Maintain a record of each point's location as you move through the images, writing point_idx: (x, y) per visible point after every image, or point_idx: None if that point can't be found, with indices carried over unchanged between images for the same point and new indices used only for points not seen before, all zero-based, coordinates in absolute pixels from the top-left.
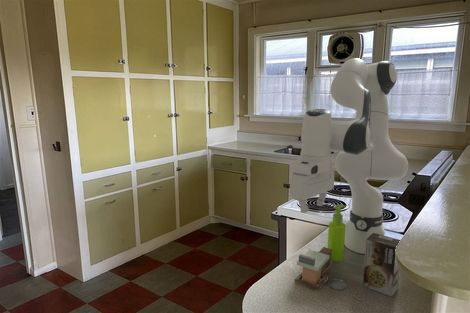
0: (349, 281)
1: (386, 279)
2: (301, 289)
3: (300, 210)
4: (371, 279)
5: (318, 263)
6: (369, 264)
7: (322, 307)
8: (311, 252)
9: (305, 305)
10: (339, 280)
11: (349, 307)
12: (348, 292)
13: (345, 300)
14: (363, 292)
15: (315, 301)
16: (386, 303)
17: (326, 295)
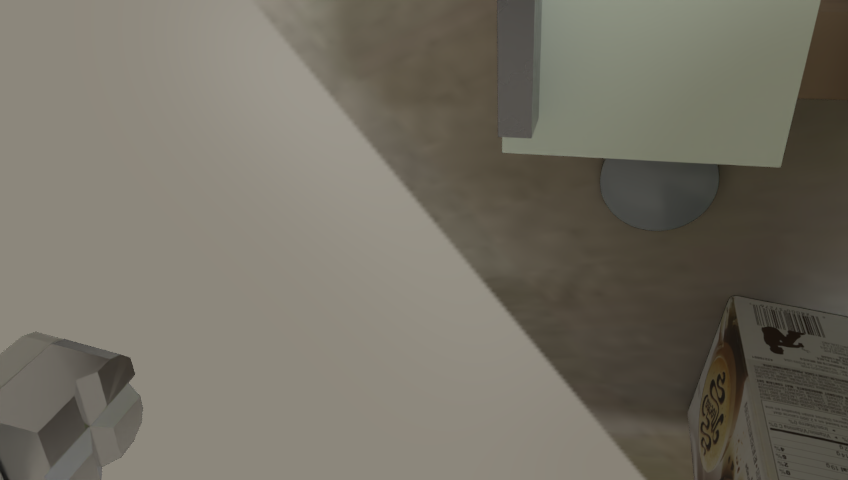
0: (746, 228)
1: (699, 454)
2: (479, 7)
3: (15, 343)
4: (720, 371)
5: (572, 134)
6: (736, 427)
7: (399, 168)
8: (761, 3)
9: (356, 92)
10: (708, 183)
11: (481, 270)
12: (612, 244)
13: (527, 245)
14: (657, 306)
15: (421, 123)
16: (615, 392)
17: (511, 155)
